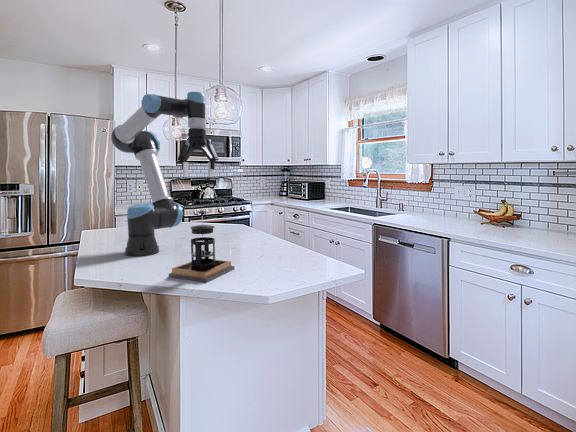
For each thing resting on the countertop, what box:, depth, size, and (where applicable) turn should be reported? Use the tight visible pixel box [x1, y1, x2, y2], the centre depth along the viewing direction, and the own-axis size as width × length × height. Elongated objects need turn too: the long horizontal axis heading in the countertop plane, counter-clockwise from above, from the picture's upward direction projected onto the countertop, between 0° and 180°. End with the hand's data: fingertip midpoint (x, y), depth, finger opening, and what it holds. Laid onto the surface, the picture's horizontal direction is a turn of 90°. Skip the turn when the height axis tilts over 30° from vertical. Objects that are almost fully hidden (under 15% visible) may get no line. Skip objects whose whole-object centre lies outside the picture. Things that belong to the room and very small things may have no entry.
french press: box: [189, 210, 216, 272], centre depth 137 cm, size 12×9×23 cm
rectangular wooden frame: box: [168, 257, 235, 283], centre depth 139 cm, size 17×19×3 cm
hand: (198, 176), depth 161 cm, fingers open, 13 cm apart
